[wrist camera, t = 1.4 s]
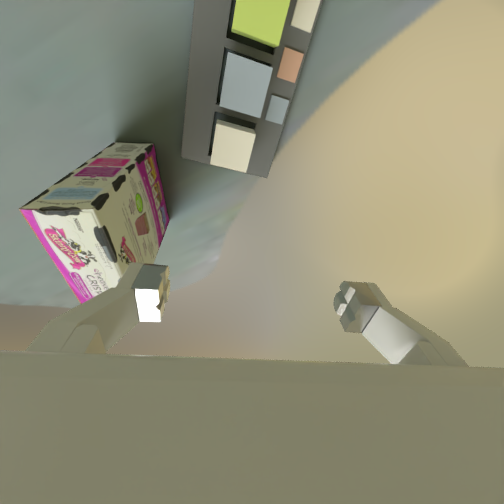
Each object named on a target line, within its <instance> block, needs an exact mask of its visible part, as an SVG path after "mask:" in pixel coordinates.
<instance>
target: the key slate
mask: <svg viewBox="0 0 504 504" xmlns="http://www.w3.org/2000/svg"><path fill="white" fill-rule="evenodd" d="M272 70H273V68H272V67H269V66H266V65H263V64H261V63H258V62H255V61H252V60H249V59H247V58H244V57H241V56H238V55H235V54H233V53H230V52H228V55H227V61H226V68H225V74H224V80H223V86H222V92H221V99H220V105H219V106H221V107H224V108H227V109H231V110H234V111H237V112H241V113H244V114H247V115H251V116H254V117H258V118H260V117H261V113H262V109H263V105H264V101H265V97H266V93H267V90H268V86H269V82H270V78H271V74H272Z"/></svg>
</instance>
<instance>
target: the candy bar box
mask: <svg viewBox="0 0 504 504" xmlns="http://www.w3.org/2000/svg"><path fill="white" fill-rule="evenodd" d="M19 210H20V212H21V213H22V215H23V216H24V218H25V219H26V221H27V222H28V224H29V225H30V227H31V228H32V230H33V231H34V233H35V235H36V236H37V237H38V239H39V240H40V242H41V243H42V245H43V247H44V248H45V250H46V251H47V253H48V254H49V256H50V257H51V259H52V260H53V262H54V263H55V265H56V266H57V268H58V270H59V271H60V273H61V274H62V276H63V277H64V279H65V280H66V282H67V283H68V285H69V286H70V288H71V289H72V291H73V293H74V294H75V296H76V297H77V299H78V300H79V302H80V303H81V304H82V303H84V302H86V301H88V300H89V299H91V298H93V297H95V296H97V295H99V294H100V293H102V292H104V291H106V290H108V289H110V288H111V287H112V288H115V287H116V286H117V284H118V282H119V281H120V279H121V278H122V276H123V274H124V273H125V271H126V269H127V268H128V266H129V264H130V263H132V262H136V263H144V264H145V263H147V264H153V263H154V261H155V258H156V255H157V253H158V250H159V247H160V245H161V242H162V240H163V237H164V234H165V231H166V229H167V226H168V223H169V217H168V212H167V207H166V202H165V197H164V193H163V188H162V183H161V178H160V173H159V168H158V163H157V158H156V153H155V148H154V144H151V143H112V144H111V145H109V146H108V147H106V148H105V149H104V150H102V151H101V152H99V153H98V154H97V155H95V156H94V157H92V158H91V159H90V160H88V161H86V162H85V163H84V164H82V165H81V166H80V167H78V168H77V169H75V170H74V171H72V172H71V173H69V174H68V175H67V176H65V177H64V178H62V179H61V180H60V181H58V182H57V183H55V184H54V185H52V186H51V187H49V188H48V189H47V190H45V191H44V192H42V193H41V194H40V195H38V196H37V197H35V198H34V199H32V200H31V201H29V202H28V203H27V204H25V205H24V206H22V207H21V208H19Z"/></svg>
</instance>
